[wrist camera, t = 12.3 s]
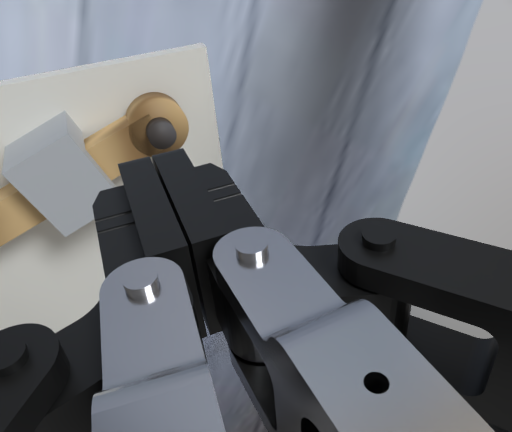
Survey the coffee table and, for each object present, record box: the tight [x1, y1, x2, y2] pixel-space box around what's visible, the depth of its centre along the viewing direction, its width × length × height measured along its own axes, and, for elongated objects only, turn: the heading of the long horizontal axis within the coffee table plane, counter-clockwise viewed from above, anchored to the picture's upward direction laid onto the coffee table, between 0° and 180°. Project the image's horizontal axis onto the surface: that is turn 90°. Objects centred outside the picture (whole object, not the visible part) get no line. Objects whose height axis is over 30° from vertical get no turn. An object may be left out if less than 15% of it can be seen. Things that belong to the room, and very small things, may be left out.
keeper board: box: [0, 43, 223, 333], centre depth 38 cm, size 25×24×6 cm
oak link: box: [0, 92, 189, 247], centre depth 35 cm, size 18×4×3 cm, turn 116°
